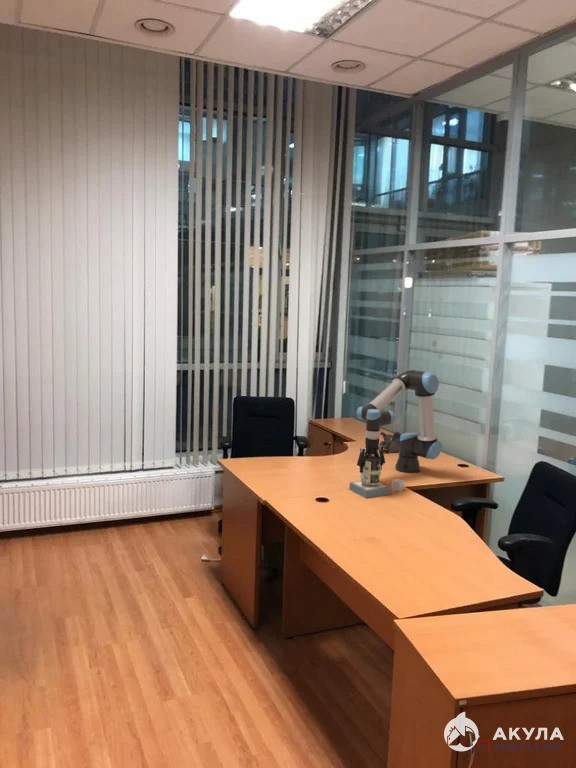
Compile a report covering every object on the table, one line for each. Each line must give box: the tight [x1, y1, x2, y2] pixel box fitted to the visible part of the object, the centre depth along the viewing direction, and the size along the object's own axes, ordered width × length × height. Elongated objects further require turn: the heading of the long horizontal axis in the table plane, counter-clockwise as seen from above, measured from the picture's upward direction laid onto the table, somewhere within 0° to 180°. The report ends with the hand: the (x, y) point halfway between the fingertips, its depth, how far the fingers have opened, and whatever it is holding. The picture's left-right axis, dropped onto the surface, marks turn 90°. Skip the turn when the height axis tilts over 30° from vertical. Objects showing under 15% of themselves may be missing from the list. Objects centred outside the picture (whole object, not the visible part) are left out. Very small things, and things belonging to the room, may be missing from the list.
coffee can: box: [360, 454, 381, 485], centre depth 343 cm, size 10×10×14 cm
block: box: [391, 478, 405, 492], centre depth 351 cm, size 5×5×5 cm
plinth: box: [348, 480, 391, 499], centre depth 345 cm, size 16×16×4 cm
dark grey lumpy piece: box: [378, 431, 402, 454], centre depth 432 cm, size 14×15×20 cm
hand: (370, 477), depth 344 cm, fingers closed on coffee can, 10 cm apart
